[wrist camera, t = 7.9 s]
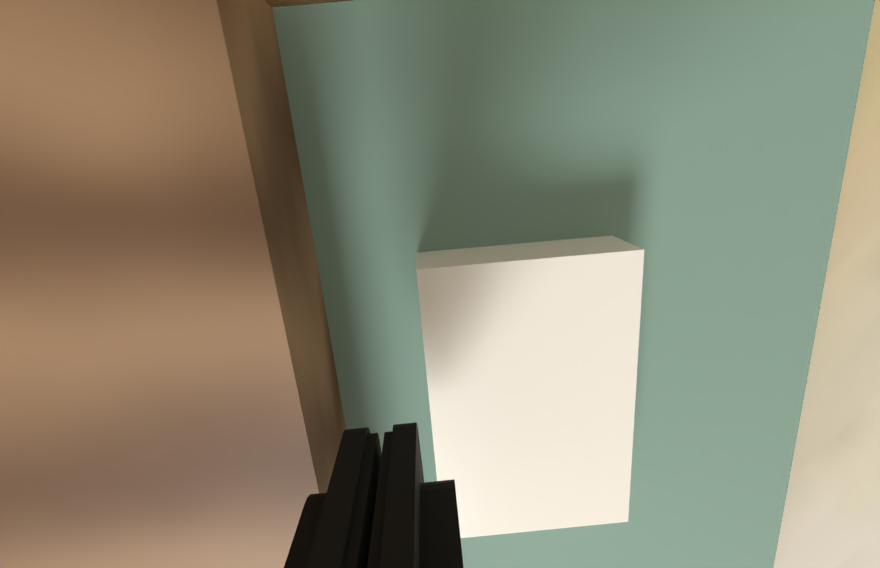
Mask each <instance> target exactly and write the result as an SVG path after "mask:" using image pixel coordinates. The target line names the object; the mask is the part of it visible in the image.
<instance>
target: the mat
mask: <svg viewBox="0 0 880 568" xmlns="http://www.w3.org/2000/svg"><path fill="white" fill-rule="evenodd" d="M874 2H875V0H352V1H340V2H329V3H317V4H306V5H294V6H282V7H272V9H273V15H274V21H275V26H276V32H277V38H278V44H279V49H280V55H281V61H282V66H283V72H284V78H285V83H286V89H287V95H288V100H289V106H290V112H291V117H292V123H293V129H294V134H295V140H296V146H297V151H298V157H299V163H300V168H301V174H302V180H303V185H304V191H305V197H306V202H307V208H308V214H309V219H310V225H311V231H312V237H313V242H314V248H315V254H316V259H317V265H318V271H319V276H320V282H321V288H322V293H323V299H324V305H325V310H326V316H327V322H328V327H329V333H330V339H331V344H332V350H333V356H334V361H335V367H336V373H337V378H338V384H339V390H340V395H341V401H342V407H343V412H344V418H345V424H346V429H355V428H365V427H368V428H369V429H370V433H378V434H379V439H380V446H381V452H382V447H383V439H384V433H385V432H390V431H393V425H395V424H405V423H415V422H417V426H418V433H419V441H420V450H421V458H422V466H423V475H424V482H434V481H437V475H436V465H435V455H434V445H433V435H432V425H431V415H430V405H429V395H428V385H427V374H426V364H425V354H424V344H423V334H422V324H421V314H420V304H419V294H418V283H417V273H416V260H417V252H427V251H439V250H450V249H462V248H473V247H485V246H496V245H507V244H519V243H530V242H542V241H553V240H565V239H576V238H588V237H599V236H611V235H613V236H615V237H617V238H620V239H622V240H624V241H626V242H629V243H631V244H633V245H635V246H637V247H640V248H642V249H644V264H643V281H642V298H641V315H640V331H639V348H638V365H637V382H636V399H635V415H634V432H633V449H632V466H631V483H630V499H629V516H628V522H621V523H611V524H601V525H590V526H580V527H570V528H560V529H550V530H540V531H530V532H519V533H509V534H499V535H489V536H479V537H469V538H461V548H462V557H463V567H464V568H773V566H774V560H775V555H776V549H777V544H778V538H779V533H780V527H781V521H782V516H783V510H784V505H785V499H786V493H787V488H788V482H789V477H790V471H791V466H792V460H793V454H794V449H795V443H796V438H797V432H798V426H799V421H800V415H801V410H802V404H803V399H804V393H805V387H806V382H807V376H808V371H809V365H810V359H811V354H812V348H813V343H814V337H815V331H816V326H817V320H818V315H819V309H820V304H821V298H822V292H823V287H824V281H825V276H826V270H827V264H828V259H829V253H830V248H831V242H832V237H833V231H834V225H835V220H836V214H837V209H838V203H839V197H840V192H841V186H842V181H843V175H844V170H845V164H846V158H847V153H848V147H849V142H850V136H851V130H852V125H853V119H854V114H855V108H856V102H857V97H858V91H859V86H860V80H861V75H862V69H863V63H864V58H865V52H866V47H867V41H868V35H869V30H870V24H871V19H872V13H873V8H874Z"/></svg>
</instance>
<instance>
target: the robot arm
mask: <svg viewBox="0 0 880 568" xmlns="http://www.w3.org/2000/svg"><path fill="white" fill-rule="evenodd" d="M284 568H464V567H463V557H462V548H461V538H460V528H459V519H458V509H457V499H456V489H455V480H454V479H453V480H443V481H434V482H424V475H423V466H422V458H421V450H420V441H419V433H418V426H417V422H415V423H405V424H395V425H393V431H390V432H385V433H384V439H383V447H382V452H381V446H380V439H379V434H378V433H370V429H369V428H368V427H365V428H355V429H345V430H344V432H343V435H342V438H341V442H340V446H339V449H338V453H337V457H336V460H335V464H334V467H333V471H332V475H331V478H330V482H329V486H328V489H327V493H318V494H310V495H309V496H308V497H307V499H306V502H305V504H304V507H303V510H302V513H301V516H300V519H299V522H298V525H297V529H296V532H295V535H294V538H293V541H292V544H291V547H290V550H289V553H288V556H287V559H286V562H285V565H284Z"/></svg>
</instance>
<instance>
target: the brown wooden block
mask: <svg viewBox="0 0 880 568" xmlns="http://www.w3.org/2000/svg"><path fill="white" fill-rule="evenodd" d="M345 429H346V424H345V418H344V412H343V407H342V401H341V395H340V390H339V384H338V378H337V373H336V367H335V361H334V356H333V350H332V344H331V339H330V333H329V327H328V322H327V316H326V310H325V305H324V299H323V293H322V288H321V282H320V276H319V271H318V265H317V259H316V254H315V248H314V242H313V237H312V231H311V225H310V219H309V214H308V208H307V202H306V197H305V191H304V185H303V180H302V174H301V168H300V163H299V157H298V151H297V146H296V140H295V134H294V129H293V123H292V117H291V112H290V106H289V100H288V95H287V89H286V83H285V78H284V72H283V66H282V61H281V55H280V49H279V44H278V38H277V32H276V26H275V21H274V15H273V9H272V7H271V6H270V5H269V4H268V3H267V2H266V1H265V0H0V568H284V565H285V562H286V559H287V556H288V553H289V550H290V547H291V544H292V541H293V538H294V535H295V532H296V529H297V525H298V522H299V519H300V516H301V513H302V510H303V507H304V504H305V502H306V499H307V497H308V496H309V495H310V494H318V493H327V489H328V486H329V482H330V478H331V475H332V471H333V467H334V464H335V460H336V457H337V453H338V449H339V446H340V442H341V438H342V435H343V432H344V430H345Z"/></svg>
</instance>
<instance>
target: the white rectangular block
mask: <svg viewBox="0 0 880 568" xmlns="http://www.w3.org/2000/svg"><path fill="white" fill-rule="evenodd" d="M643 264H644V249H642V248H640V247H637V246H635V245H633V244H631V243H629V242H626V241H624V240H622V239H620V238H617V237H615V236H613V235H611V236H599V237H588V238H576V239H565V240H553V241H542V242H530V243H519V244H507V245H496V246H485V247H473V248H462V249H450V250H439V251H427V252H417V260H416V273H417V283H418V294H419V304H420V314H421V324H422V334H423V344H424V354H425V364H426V374H427V385H428V395H429V405H430V415H431V425H432V435H433V445H434V455H435V465H436V475H437V481H443V480H453V479H454V480H455V489H456V499H457V509H458V519H459V528H460V538H469V537H479V536H489V535H499V534H509V533H519V532H530V531H540V530H550V529H560V528H570V527H580V526H590V525H601V524H611V523H621V522H628V516H629V499H630V483H631V466H632V449H633V432H634V415H635V399H636V382H637V365H638V348H639V331H640V315H641V298H642V281H643Z"/></svg>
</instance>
